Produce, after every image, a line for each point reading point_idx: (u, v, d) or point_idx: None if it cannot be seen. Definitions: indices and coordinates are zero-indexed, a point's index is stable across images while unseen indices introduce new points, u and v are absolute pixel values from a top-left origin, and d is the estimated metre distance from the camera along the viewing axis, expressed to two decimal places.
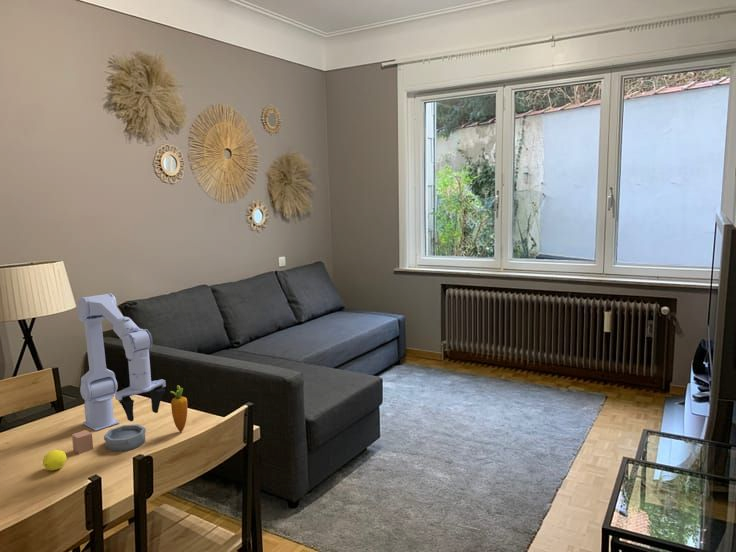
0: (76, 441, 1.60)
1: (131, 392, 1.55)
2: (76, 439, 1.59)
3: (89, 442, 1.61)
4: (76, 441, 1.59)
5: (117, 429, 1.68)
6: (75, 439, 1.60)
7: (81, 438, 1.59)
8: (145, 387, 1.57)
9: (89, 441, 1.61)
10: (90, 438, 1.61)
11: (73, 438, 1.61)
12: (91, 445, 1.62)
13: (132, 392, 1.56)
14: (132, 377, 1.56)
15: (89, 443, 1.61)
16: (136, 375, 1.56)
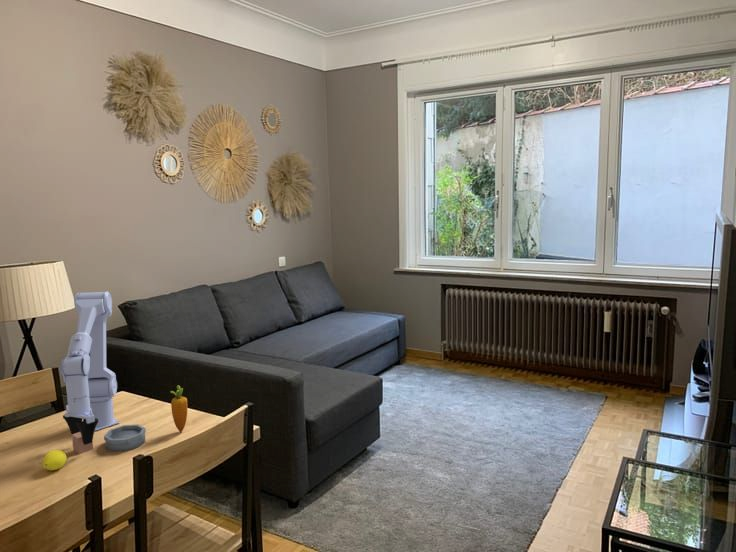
0: (76, 441, 1.60)
1: None
2: (76, 439, 1.59)
3: None
4: (76, 441, 1.59)
5: (117, 429, 1.68)
6: (75, 439, 1.60)
7: (81, 438, 1.59)
8: (69, 412, 1.58)
9: None
10: None
11: (73, 438, 1.61)
12: (91, 445, 1.62)
13: None
14: None
15: (89, 443, 1.61)
16: None
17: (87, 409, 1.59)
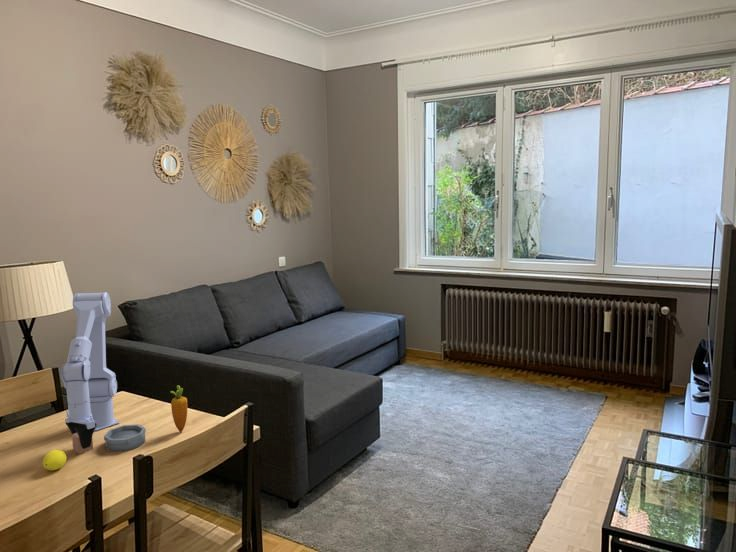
0: (76, 441, 1.59)
1: (68, 415, 1.61)
2: (76, 438, 1.59)
3: None
4: (76, 441, 1.59)
5: (117, 429, 1.68)
6: (75, 439, 1.60)
7: None
8: (69, 417, 1.58)
9: None
10: None
11: (73, 438, 1.61)
12: (91, 445, 1.62)
13: (68, 416, 1.61)
14: None
15: None
16: None
17: (88, 415, 1.60)
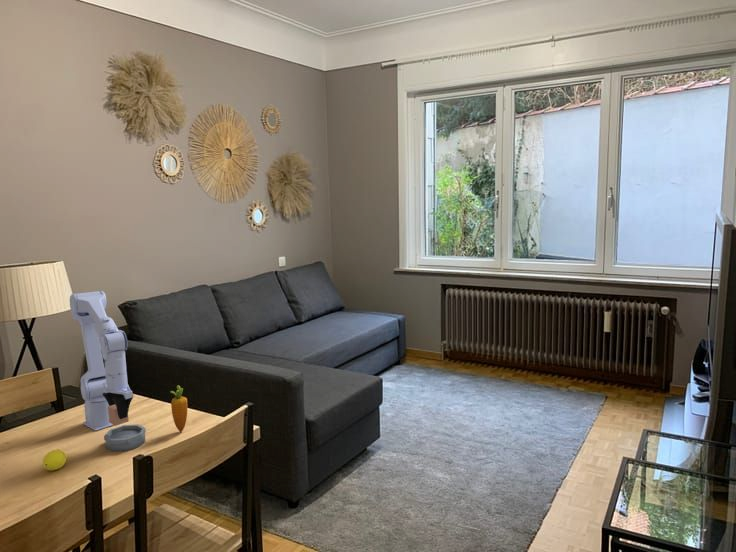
0: (112, 413, 1.62)
1: (105, 386, 1.64)
2: (112, 410, 1.61)
3: None
4: (112, 413, 1.61)
5: (117, 429, 1.68)
6: (111, 411, 1.62)
7: None
8: (107, 388, 1.61)
9: None
10: None
11: (109, 410, 1.63)
12: (126, 417, 1.64)
13: (105, 387, 1.64)
14: None
15: None
16: None
17: (125, 386, 1.62)
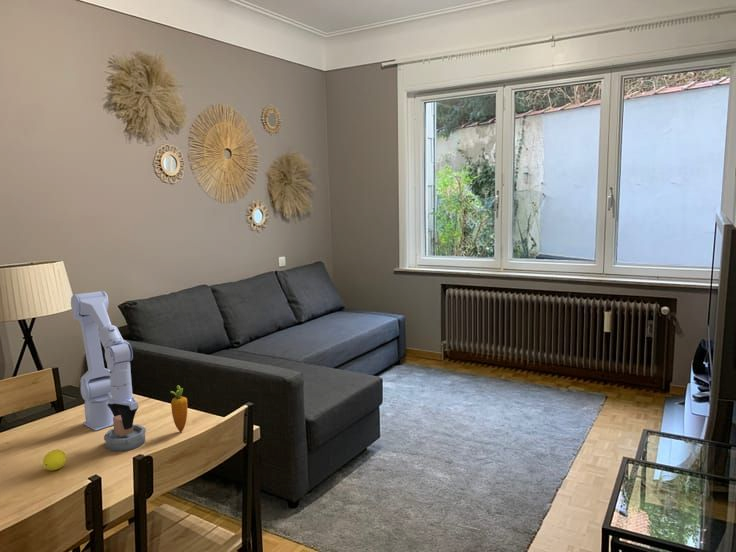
0: (117, 424, 1.62)
1: (110, 397, 1.65)
2: (117, 421, 1.62)
3: None
4: (118, 423, 1.62)
5: None
6: (116, 422, 1.63)
7: None
8: (112, 399, 1.61)
9: None
10: None
11: (114, 421, 1.64)
12: (131, 428, 1.65)
13: (110, 397, 1.64)
14: None
15: None
16: None
17: (130, 396, 1.63)
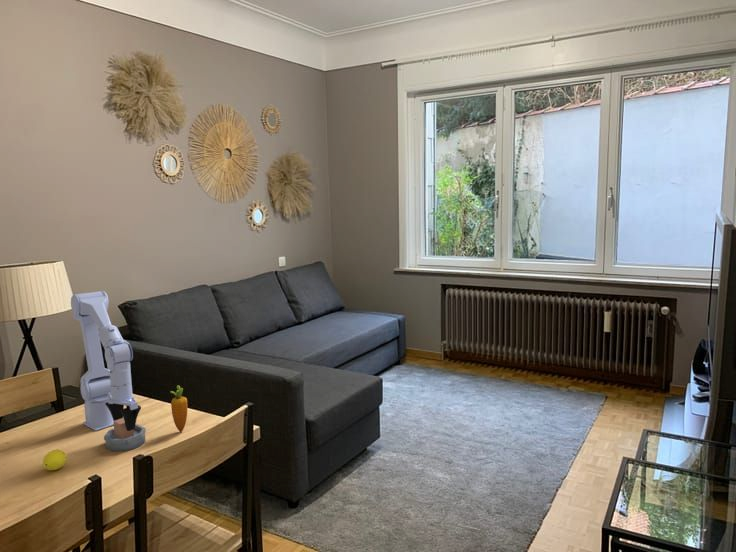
0: (118, 428, 1.63)
1: (110, 397, 1.65)
2: (118, 425, 1.62)
3: None
4: (118, 427, 1.62)
5: None
6: (117, 426, 1.63)
7: (123, 424, 1.63)
8: (112, 399, 1.61)
9: None
10: None
11: (115, 424, 1.64)
12: (132, 431, 1.65)
13: (110, 397, 1.64)
14: None
15: (130, 430, 1.64)
16: None
17: (130, 396, 1.63)
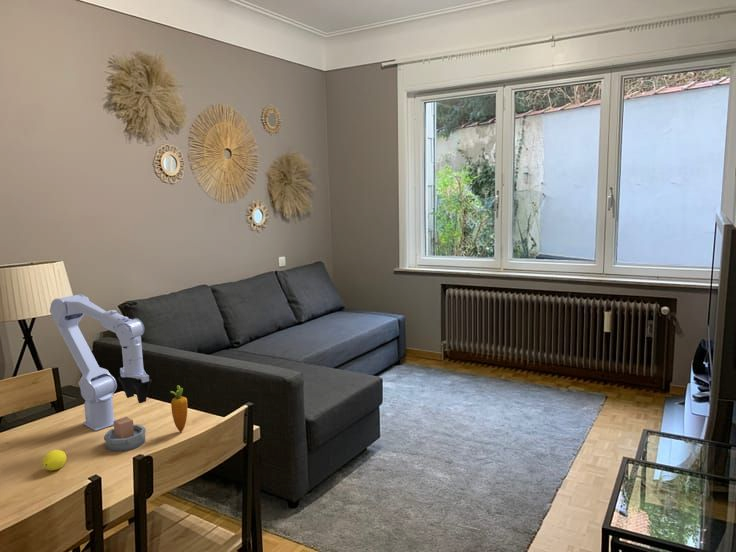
0: (118, 428, 1.63)
1: (122, 371, 1.73)
2: (118, 425, 1.62)
3: (130, 428, 1.64)
4: (118, 427, 1.62)
5: None
6: (117, 426, 1.63)
7: (123, 424, 1.63)
8: (124, 373, 1.70)
9: (130, 427, 1.64)
10: (131, 425, 1.65)
11: (115, 424, 1.64)
12: (132, 431, 1.65)
13: (122, 372, 1.73)
14: None
15: (130, 430, 1.64)
16: None
17: (141, 371, 1.71)
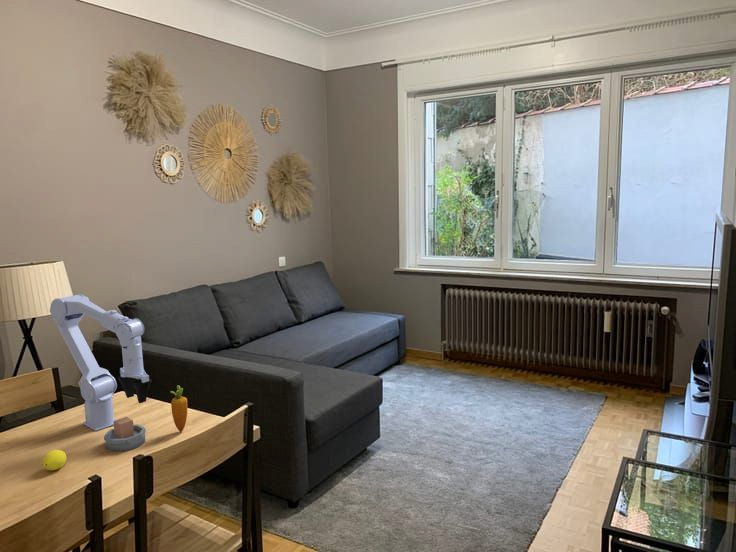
0: (118, 428, 1.63)
1: (122, 371, 1.73)
2: (118, 425, 1.62)
3: (130, 428, 1.64)
4: (118, 427, 1.62)
5: None
6: (117, 426, 1.63)
7: (123, 424, 1.63)
8: (124, 373, 1.70)
9: (130, 427, 1.64)
10: (131, 425, 1.65)
11: (115, 424, 1.64)
12: (132, 431, 1.65)
13: (122, 372, 1.73)
14: None
15: (130, 430, 1.64)
16: None
17: (141, 371, 1.71)
